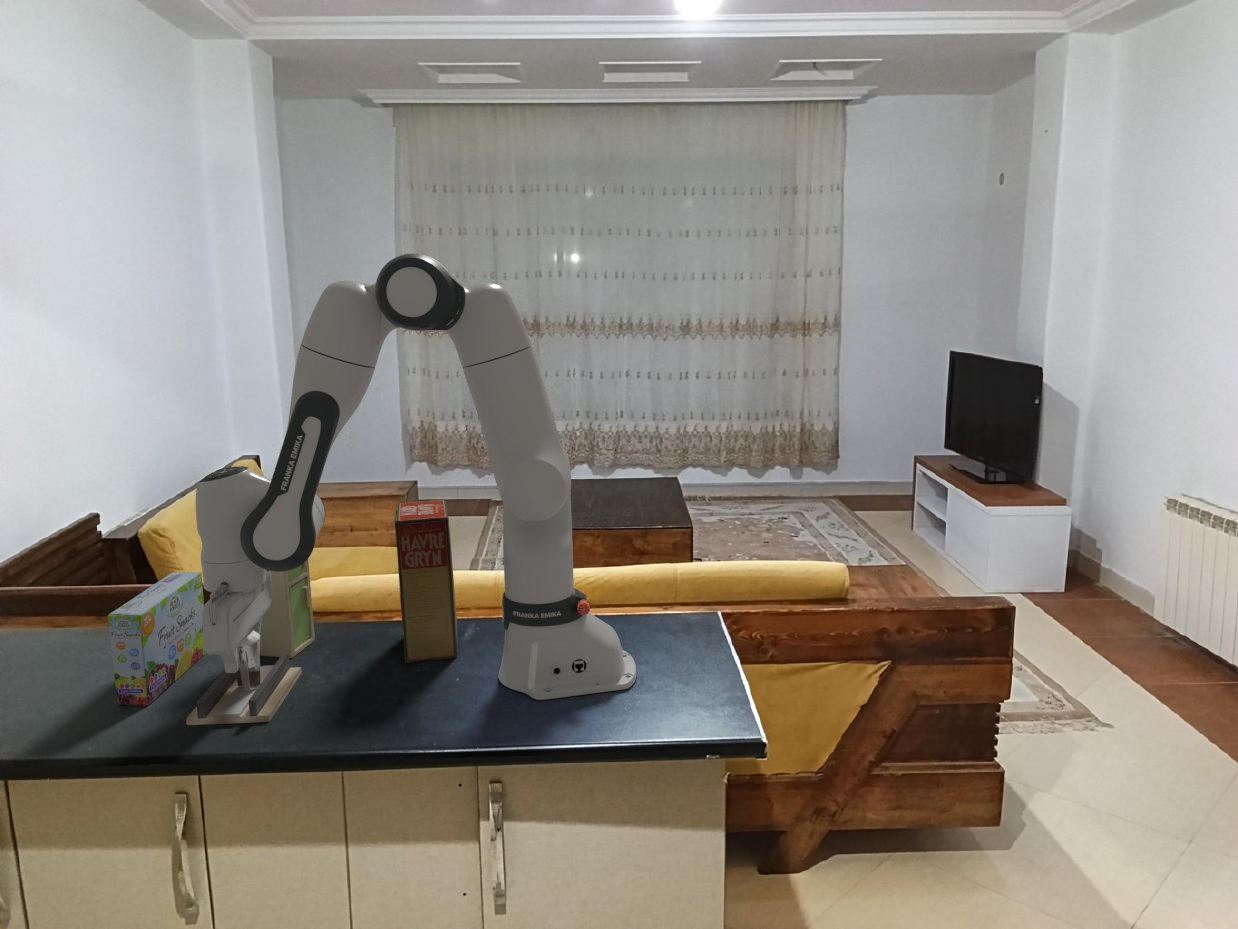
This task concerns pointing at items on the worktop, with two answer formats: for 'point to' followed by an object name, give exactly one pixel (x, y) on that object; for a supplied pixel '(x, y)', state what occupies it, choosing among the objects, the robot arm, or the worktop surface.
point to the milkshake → (249, 662)
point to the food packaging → (426, 580)
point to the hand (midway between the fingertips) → (243, 658)
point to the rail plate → (245, 696)
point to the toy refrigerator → (288, 614)
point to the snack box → (157, 637)
